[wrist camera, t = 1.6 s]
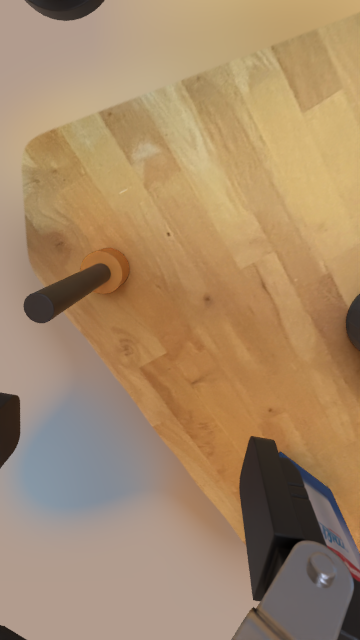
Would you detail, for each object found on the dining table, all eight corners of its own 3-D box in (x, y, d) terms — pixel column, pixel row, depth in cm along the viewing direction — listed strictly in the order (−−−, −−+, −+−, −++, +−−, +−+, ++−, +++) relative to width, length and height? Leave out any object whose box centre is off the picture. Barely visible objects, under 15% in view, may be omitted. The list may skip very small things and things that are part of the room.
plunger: (83, 259, 40) (-9, 294, 23) (116, 240, 39) (46, 261, 22) (103, 294, 41) (31, 351, 24) (136, 276, 40) (85, 322, 23)
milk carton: (249, 477, 48) (279, 649, 29) (280, 451, 46) (332, 616, 27) (299, 513, 49) (358, 701, 30) (330, 489, 48) (414, 672, 29)
